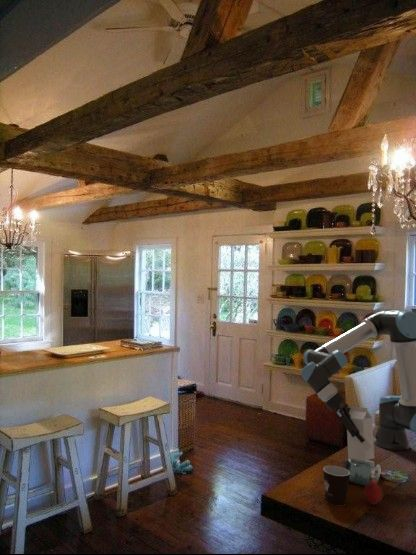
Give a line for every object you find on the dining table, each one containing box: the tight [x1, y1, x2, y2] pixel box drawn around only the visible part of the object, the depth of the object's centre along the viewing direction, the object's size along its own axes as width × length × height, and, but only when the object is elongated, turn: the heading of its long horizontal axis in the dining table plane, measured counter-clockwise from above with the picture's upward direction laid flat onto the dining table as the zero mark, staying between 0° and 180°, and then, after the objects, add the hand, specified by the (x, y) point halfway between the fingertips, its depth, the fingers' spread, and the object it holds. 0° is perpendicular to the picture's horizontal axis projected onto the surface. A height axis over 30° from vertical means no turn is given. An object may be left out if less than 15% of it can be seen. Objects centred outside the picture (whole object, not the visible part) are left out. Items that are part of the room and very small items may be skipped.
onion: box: [363, 480, 384, 505], centre depth 145 cm, size 6×6×8 cm
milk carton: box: [346, 405, 375, 461], centre depth 172 cm, size 7×7×19 cm
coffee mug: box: [322, 465, 350, 506], centre depth 148 cm, size 12×9×10 cm
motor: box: [342, 458, 382, 486], centre depth 167 cm, size 19×12×8 cm, turn 152°
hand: (371, 445), depth 169 cm, fingers closed on milk carton, 9 cm apart
